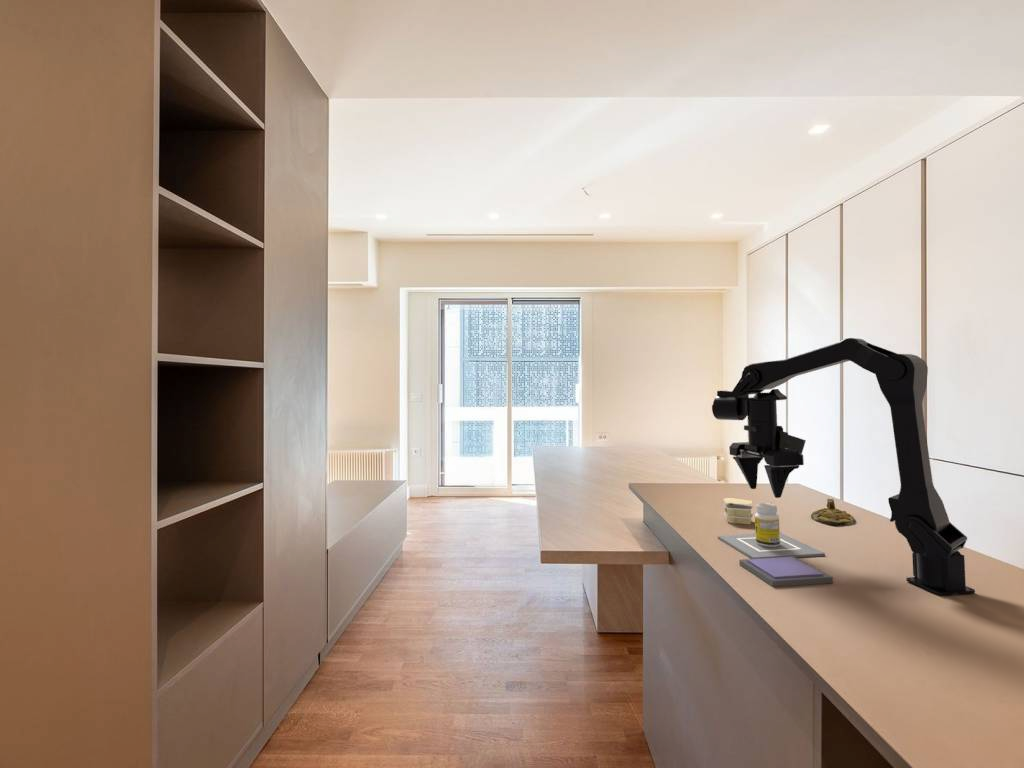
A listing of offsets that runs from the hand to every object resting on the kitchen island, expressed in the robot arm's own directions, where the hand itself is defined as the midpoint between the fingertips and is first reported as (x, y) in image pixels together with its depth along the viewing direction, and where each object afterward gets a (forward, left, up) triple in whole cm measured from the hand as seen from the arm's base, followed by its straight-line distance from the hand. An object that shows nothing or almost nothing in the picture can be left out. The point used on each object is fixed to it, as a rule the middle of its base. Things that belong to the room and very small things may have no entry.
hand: (765, 493), depth 108 cm
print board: (0, 0, -12) cm, 12 cm away
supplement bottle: (0, 0, -11) cm, 11 cm away
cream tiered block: (+20, -4, -12) cm, 24 cm away
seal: (+18, -28, -12) cm, 35 cm away
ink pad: (-15, +6, -12) cm, 20 cm away
